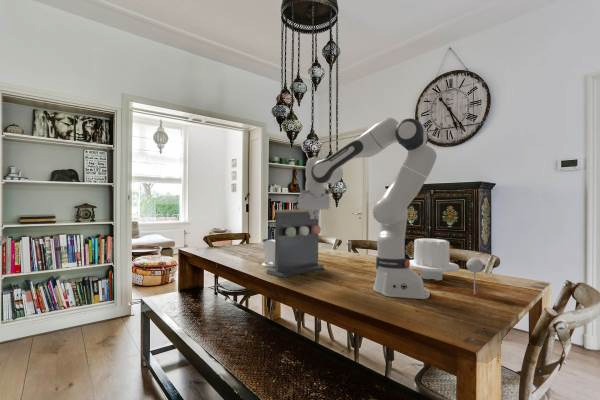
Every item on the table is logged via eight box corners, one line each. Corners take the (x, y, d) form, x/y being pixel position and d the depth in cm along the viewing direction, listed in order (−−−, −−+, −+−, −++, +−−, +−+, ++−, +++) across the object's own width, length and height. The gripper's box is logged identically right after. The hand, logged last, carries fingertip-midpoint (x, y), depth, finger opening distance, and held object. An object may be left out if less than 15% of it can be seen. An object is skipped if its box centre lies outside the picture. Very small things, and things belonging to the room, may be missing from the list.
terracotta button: (320, 234, 171) (320, 225, 172) (315, 234, 168) (315, 225, 168) (316, 233, 174) (316, 225, 174) (310, 234, 170) (311, 225, 170)
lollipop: (476, 297, 122) (477, 259, 122) (463, 293, 127) (463, 257, 127) (486, 295, 124) (486, 258, 125) (472, 291, 130) (472, 256, 130)
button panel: (323, 268, 174) (324, 209, 175) (283, 277, 151) (283, 210, 151) (307, 264, 182) (308, 209, 183) (267, 273, 159) (267, 209, 159)
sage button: (296, 236, 157) (296, 227, 157) (289, 237, 153) (289, 227, 153) (291, 236, 159) (291, 226, 159) (285, 236, 155) (285, 227, 155)
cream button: (308, 235, 164) (308, 226, 164) (302, 235, 161) (302, 226, 161) (304, 234, 166) (304, 226, 166) (298, 235, 163) (298, 226, 163)
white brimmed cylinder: (408, 270, 171) (408, 236, 171) (458, 275, 160) (458, 239, 161) (402, 280, 149) (402, 241, 149) (460, 286, 138) (460, 244, 138)
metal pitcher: (285, 264, 184) (285, 239, 184) (274, 267, 174) (274, 241, 174) (269, 262, 190) (269, 237, 190) (257, 265, 180) (258, 239, 180)
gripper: (305, 189, 140) (304, 219, 140) (331, 191, 155) (331, 218, 155) (295, 189, 144) (294, 219, 144) (322, 191, 159) (321, 218, 159)
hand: (314, 219), depth 149 cm, fingers closed
